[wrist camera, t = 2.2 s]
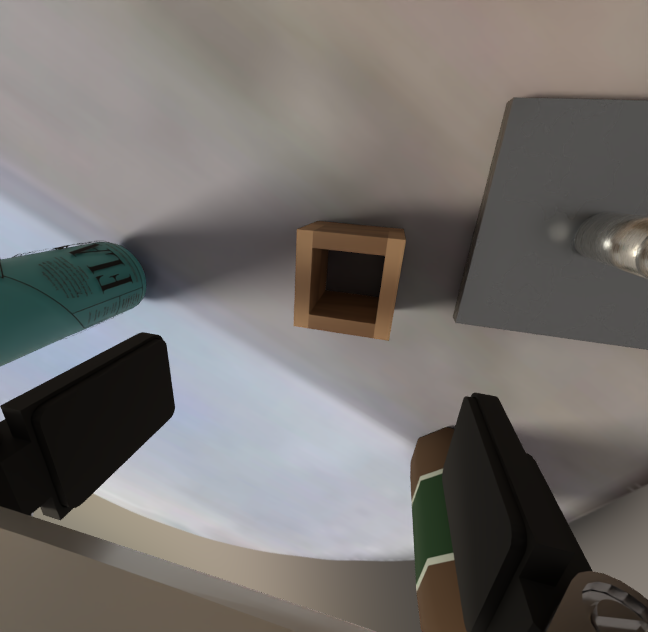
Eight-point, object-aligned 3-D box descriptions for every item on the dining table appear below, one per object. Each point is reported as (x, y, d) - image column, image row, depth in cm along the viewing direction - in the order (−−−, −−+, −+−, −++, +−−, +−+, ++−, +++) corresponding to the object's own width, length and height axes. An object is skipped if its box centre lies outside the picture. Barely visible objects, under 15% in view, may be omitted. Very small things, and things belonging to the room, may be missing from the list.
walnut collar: (317, 220, 23) (296, 229, 18) (403, 228, 22) (405, 239, 17) (313, 299, 26) (293, 325, 21) (390, 310, 25) (388, 340, 20)
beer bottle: (392, 459, 30) (387, 1127, 9) (443, 409, 27) (637, 1282, 5) (458, 499, 31) (615, 1256, 9) (517, 455, 27) (993, 1484, 6)
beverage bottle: (173, 275, 28) (-237, 431, 10) (139, 318, 31) (-232, 503, 12) (117, 220, 27) (-448, 281, 9) (88, 269, 30) (-392, 393, 12)
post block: (506, 102, 18) (579, 46, 11) (794, 109, 16) (1120, 44, 9) (452, 316, 24) (477, 371, 17) (661, 345, 22) (795, 423, 14)
